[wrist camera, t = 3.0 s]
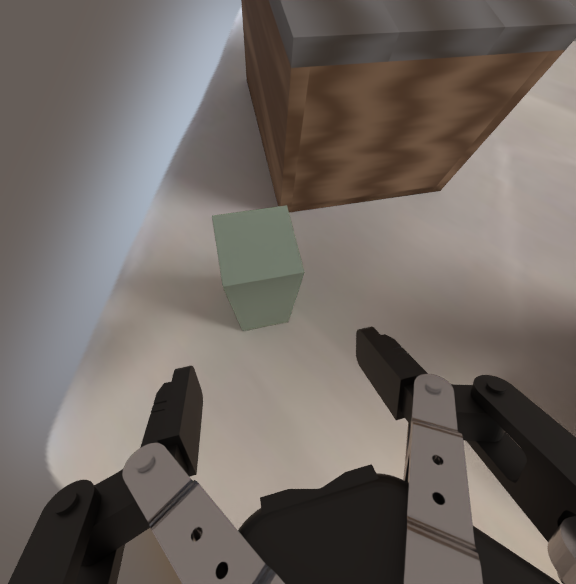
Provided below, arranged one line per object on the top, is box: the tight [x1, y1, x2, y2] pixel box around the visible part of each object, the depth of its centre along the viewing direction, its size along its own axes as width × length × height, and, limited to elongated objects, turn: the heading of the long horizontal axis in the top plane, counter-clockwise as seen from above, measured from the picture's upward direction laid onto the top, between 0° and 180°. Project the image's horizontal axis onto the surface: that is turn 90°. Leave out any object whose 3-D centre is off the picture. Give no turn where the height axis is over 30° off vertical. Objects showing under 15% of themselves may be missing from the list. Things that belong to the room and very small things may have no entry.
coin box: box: [241, 0, 576, 212], centre depth 27 cm, size 20×22×16 cm
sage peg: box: [212, 205, 304, 331], centre depth 21 cm, size 4×4×12 cm
